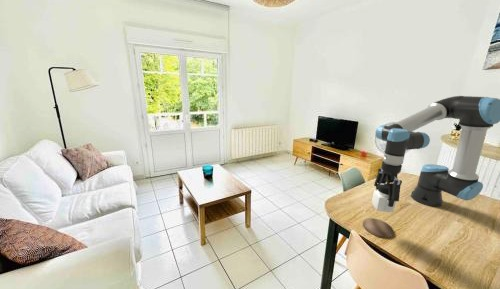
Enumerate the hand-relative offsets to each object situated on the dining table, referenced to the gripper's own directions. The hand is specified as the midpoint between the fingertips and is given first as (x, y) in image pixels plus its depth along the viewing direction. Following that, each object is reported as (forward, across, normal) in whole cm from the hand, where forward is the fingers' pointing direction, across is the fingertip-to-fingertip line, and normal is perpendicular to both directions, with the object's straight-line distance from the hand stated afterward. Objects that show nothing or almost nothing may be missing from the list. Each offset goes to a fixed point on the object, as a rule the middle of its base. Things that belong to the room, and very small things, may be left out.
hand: (382, 206), depth 100 cm
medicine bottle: (+1, 0, 0) cm, 1 cm away
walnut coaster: (+13, 0, 0) cm, 13 cm away
